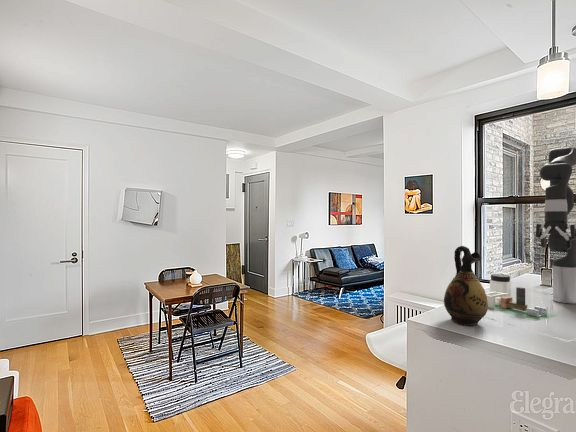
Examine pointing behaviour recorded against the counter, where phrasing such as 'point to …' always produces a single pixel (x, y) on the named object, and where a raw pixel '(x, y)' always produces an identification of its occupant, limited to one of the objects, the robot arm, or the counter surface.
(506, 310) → the pitch mat
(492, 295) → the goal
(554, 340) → the counter surface
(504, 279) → the jar
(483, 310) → the ceramic jug
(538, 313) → the bracket
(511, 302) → the wooden peg with knob
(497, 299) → the ball
